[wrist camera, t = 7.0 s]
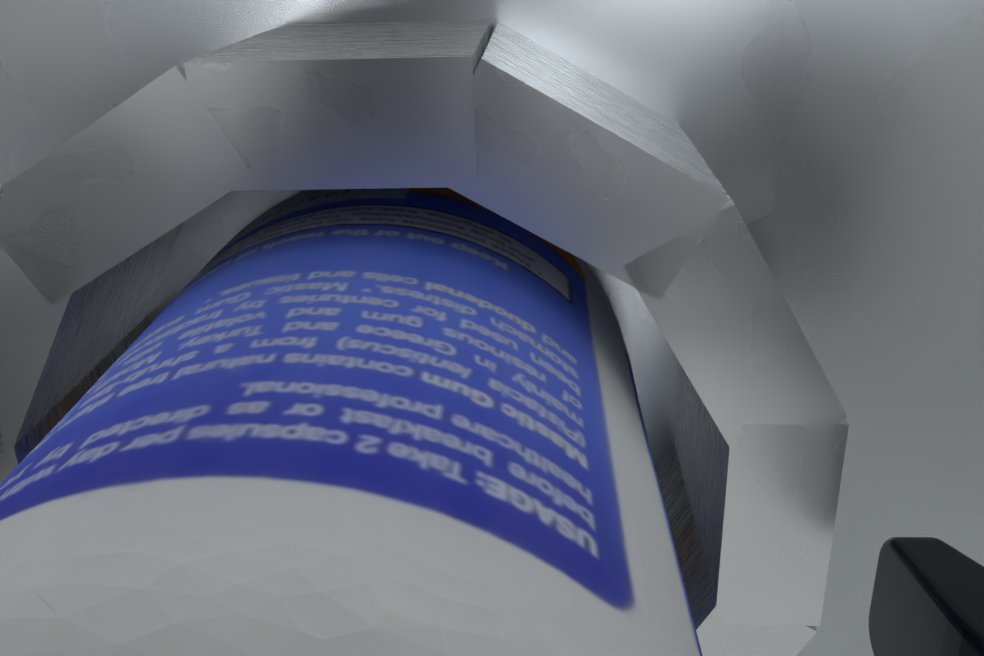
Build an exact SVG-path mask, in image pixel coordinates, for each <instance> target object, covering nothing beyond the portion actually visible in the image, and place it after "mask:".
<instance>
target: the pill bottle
mask: <svg viewBox="0 0 984 656" xmlns="http://www.w3.org/2000/svg"><path fill="white" fill-rule="evenodd" d="M0 656H703V655H702V651H701V647H700V643H699V640H698V636H697V632H696V628H695V624H694V620H693V616H692V612H691V609H690V605H689V601H688V597H687V593H686V589H685V585H684V581H683V577H682V573H681V570H680V566H679V562H678V558H677V554H676V550H675V546H674V542H673V538H672V534H671V530H670V526H669V522H668V518H667V514H666V510H665V506H664V502H663V498H662V494H661V490H660V486H659V482H658V478H657V474H656V470H655V466H654V462H653V458H652V454H651V450H650V446H649V441H648V437H647V433H646V429H645V424H644V420H643V416H642V412H641V407H640V403H639V399H638V394H637V390H636V386H635V381H634V377H633V372H632V367H631V362H630V359H629V355H628V352H627V348H626V345H625V342H624V339H623V336H622V333H621V329H620V326H619V324H618V321H617V319H616V316H615V314H614V312H613V309H612V307H611V304H610V302H609V300H608V298H607V297H606V295H605V293H604V291H603V289H602V288H601V286H600V284H599V282H598V280H597V279H596V277H595V276H594V275H593V273H592V272H591V270H590V269H589V267H588V266H587V265H586V263H585V262H584V261H583V260H582V259H580V258H578V257H576V256H575V255H573V254H571V253H569V252H567V251H565V250H563V249H562V248H560V247H558V246H556V245H554V244H552V243H550V242H548V241H547V240H545V239H543V238H541V237H539V236H537V235H535V234H534V233H532V232H530V231H528V230H526V229H524V228H522V227H521V226H519V225H517V224H515V223H513V222H511V221H509V220H508V219H506V218H504V217H502V216H500V215H498V214H496V213H494V212H493V211H491V210H489V209H487V208H485V207H483V206H481V205H480V204H478V203H476V202H474V201H472V200H470V199H468V198H467V197H465V196H463V195H461V194H459V193H457V192H455V191H454V190H452V189H450V188H448V187H444V188H379V189H313V190H306V191H304V192H301V193H299V194H297V195H295V196H293V197H291V198H289V199H287V200H284V201H282V202H280V203H279V204H277V205H275V206H274V207H272V208H271V209H269V210H268V211H266V212H265V213H263V214H262V215H260V216H259V217H258V218H256V219H255V220H253V221H252V222H251V223H249V224H248V225H247V226H246V227H245V228H243V229H242V230H241V231H240V232H239V233H238V234H236V235H235V236H234V237H233V238H232V239H231V240H230V241H229V242H228V243H227V244H226V245H225V246H224V247H222V248H221V249H220V250H219V251H218V252H217V253H216V255H215V256H214V257H213V258H212V259H211V260H210V261H209V262H208V263H207V264H206V265H205V266H204V268H203V269H202V270H201V271H200V272H199V273H198V274H197V275H196V276H195V277H194V278H193V279H192V280H191V281H190V282H189V283H188V284H187V285H186V286H185V287H184V289H183V290H182V291H181V292H180V293H179V294H178V295H177V296H176V297H175V298H174V299H173V300H172V301H171V303H170V304H169V305H168V306H167V307H166V308H165V309H164V310H163V311H162V312H161V313H160V315H159V316H158V317H157V318H156V319H155V320H154V321H153V322H152V323H151V324H150V325H149V326H148V327H147V328H146V330H145V331H144V332H143V333H142V334H141V335H140V336H139V337H138V338H137V339H136V340H135V341H134V342H133V343H132V345H131V346H130V347H129V348H128V349H127V350H126V351H125V352H124V353H123V354H122V355H121V356H120V357H119V358H118V359H117V360H116V361H115V362H114V364H113V365H112V366H111V367H110V368H109V369H108V370H107V371H106V372H105V373H104V374H103V375H102V376H101V377H100V378H99V379H98V380H97V382H96V383H95V384H94V385H93V386H92V387H91V388H90V389H89V390H88V391H87V392H86V394H85V395H84V396H83V397H82V398H81V399H80V400H79V401H78V402H77V403H76V404H75V405H74V407H73V408H72V409H71V410H70V411H69V412H68V413H67V414H66V415H65V416H64V417H63V418H62V419H61V420H60V421H59V422H58V424H57V425H56V426H55V427H54V428H53V429H52V430H51V431H50V432H49V433H48V434H47V435H46V436H45V437H44V439H43V440H42V441H41V442H40V443H39V444H38V445H37V446H36V447H35V448H34V449H33V450H32V451H31V452H30V453H29V454H28V455H27V456H26V457H25V458H24V459H23V461H22V462H21V463H20V464H19V465H18V466H17V467H16V468H15V469H14V470H13V471H12V472H11V473H10V474H9V476H8V477H7V478H6V479H5V480H4V481H3V482H2V483H1V484H0Z"/></svg>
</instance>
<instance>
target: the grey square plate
mask: <svg viewBox="0 0 984 656" xmlns="http://www.w3.org/2000/svg"><path fill="white" fill-rule="evenodd" d="M444 187H448V188H450V189H452V190H454V191H455V192H457V193H459V194H461V195H463V196H465V197H467V198H468V199H470V200H472V201H474V202H476V203H478V204H480V205H481V206H483V207H485V208H487V209H489V210H491V211H493V212H494V213H496V214H498V215H500V216H502V217H504V218H506V219H508V220H509V221H511V222H513V223H515V224H517V225H519V226H521V227H522V228H524V229H526V230H528V231H530V232H532V233H534V234H535V235H537V236H539V237H541V238H543V239H545V240H547V241H548V242H550V243H552V244H554V245H556V246H558V247H560V248H562V249H563V250H565V251H567V252H569V253H571V254H573V255H575V256H576V257H578V258H580V259H582V260H583V261H584V262H585V263H586V265H587V266H588V267H589V269H590V270H591V272H592V273H593V275H594V276H595V277H596V279H597V280H598V282H599V284H600V286H601V288H602V289H603V291H604V293H605V295H606V297H607V298H608V300H609V302H610V304H611V307H612V309H613V312H614V314H615V316H616V319H617V321H618V324H619V326H620V329H621V333H622V336H623V339H624V342H625V345H626V348H627V352H628V355H629V359H630V362H631V367H632V372H633V377H634V381H635V386H636V390H637V394H638V399H639V403H640V407H641V412H642V416H643V420H644V424H645V429H646V433H647V437H648V441H649V446H650V450H651V454H652V458H653V462H654V466H655V470H656V474H657V478H658V482H659V486H660V490H661V494H662V498H663V502H664V506H665V510H666V514H667V518H668V522H669V526H670V530H671V534H672V538H673V542H674V546H675V550H676V554H677V558H678V562H679V566H680V570H681V573H682V577H683V581H684V585H685V589H686V593H687V597H688V601H689V605H690V609H691V612H692V616H693V620H694V624H695V628H696V632H697V636H698V640H699V643H700V647H701V651H702V655H703V656H874V654H873V650H872V646H871V642H870V636H869V626H868V622H869V611H870V605H871V599H872V593H873V587H874V581H875V575H876V569H877V563H878V557H879V553H880V549H881V547H882V545H883V543H884V542H885V541H886V540H888V539H889V538H891V537H933V538H937V539H940V540H942V541H944V542H945V543H947V544H949V545H950V546H952V547H953V548H955V549H957V550H958V551H960V552H961V553H963V554H965V555H966V556H968V557H969V558H971V559H973V560H974V561H976V562H977V563H979V564H981V565H982V566H984V0H0V484H1V483H2V482H3V481H4V480H5V479H6V478H7V477H8V476H9V474H10V473H11V472H12V471H13V470H14V469H15V468H16V467H17V466H18V465H19V464H20V463H21V462H22V461H23V459H24V458H25V457H26V456H27V455H28V454H29V453H30V452H31V451H32V450H33V449H34V448H35V447H36V446H37V445H38V444H39V443H40V442H41V441H42V440H43V439H44V437H45V436H46V435H47V434H48V433H49V432H50V431H51V430H52V429H53V428H54V427H55V426H56V425H57V424H58V422H59V421H60V420H61V419H62V418H63V417H64V416H65V415H66V414H67V413H68V412H69V411H70V410H71V409H72V408H73V407H74V405H75V404H76V403H77V402H78V401H79V400H80V399H81V398H82V397H83V396H84V395H85V394H86V392H87V391H88V390H89V389H90V388H91V387H92V386H93V385H94V384H95V383H96V382H97V380H98V379H99V378H100V377H101V376H102V375H103V374H104V373H105V372H106V371H107V370H108V369H109V368H110V367H111V366H112V365H113V364H114V362H115V361H116V360H117V359H118V358H119V357H120V356H121V355H122V354H123V353H124V352H125V351H126V350H127V349H128V348H129V347H130V346H131V345H132V343H133V342H134V341H135V340H136V339H137V338H138V337H139V336H140V335H141V334H142V333H143V332H144V331H145V330H146V328H147V327H148V326H149V325H150V324H151V323H152V322H153V321H154V320H155V319H156V318H157V317H158V316H159V315H160V313H161V312H162V311H163V310H164V309H165V308H166V307H167V306H168V305H169V304H170V303H171V301H172V300H173V299H174V298H175V297H176V296H177V295H178V294H179V293H180V292H181V291H182V290H183V289H184V287H185V286H186V285H187V284H188V283H189V282H190V281H191V280H192V279H193V278H194V277H195V276H196V275H197V274H198V273H199V272H200V271H201V270H202V269H203V268H204V266H205V265H206V264H207V263H208V262H209V261H210V260H211V259H212V258H213V257H214V256H215V255H216V253H217V252H218V251H219V250H220V249H221V248H222V247H224V246H225V245H226V244H227V243H228V242H229V241H230V240H231V239H232V238H233V237H234V236H235V235H236V234H238V233H239V232H240V231H241V230H242V229H243V228H245V227H246V226H247V225H248V224H249V223H251V222H252V221H253V220H255V219H256V218H258V217H259V216H260V215H262V214H263V213H265V212H266V211H268V210H269V209H271V208H272V207H274V206H275V205H277V204H279V203H280V202H282V201H284V200H287V199H289V198H291V197H293V196H295V195H297V194H299V193H301V192H304V191H306V190H313V189H379V188H444Z"/></svg>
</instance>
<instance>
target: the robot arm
mask: <svg viewBox="0 0 984 656" xmlns="http://www.w3.org/2000/svg"><path fill="white" fill-rule="evenodd" d="M868 626H869V636H870V642H871V646H872V650H873V654H874V656H984V566H982V565H981V564H979V563H977V562H976V561H974V560H973V559H971V558H969V557H968V556H966V555H965V554H963V553H961V552H960V551H958V550H957V549H955V548H953V547H952V546H950V545H949V544H947V543H945V542H944V541H942V540H940V539H937V538H933V537H891V538H889V539H888V540H886V541H885V542H884V543H883V545H882V547H881V549H880V553H879V557H878V563H877V569H876V575H875V581H874V587H873V593H872V599H871V605H870V611H869V622H868Z"/></svg>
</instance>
